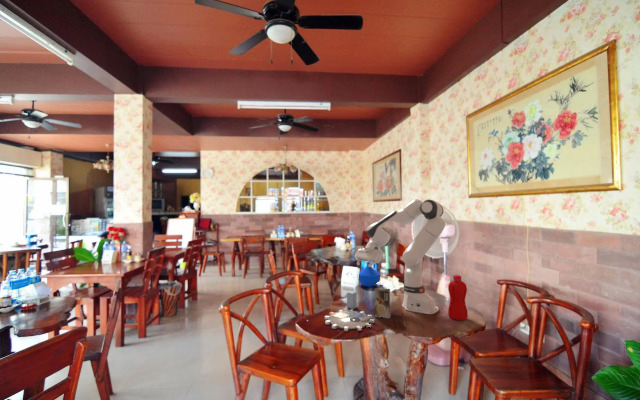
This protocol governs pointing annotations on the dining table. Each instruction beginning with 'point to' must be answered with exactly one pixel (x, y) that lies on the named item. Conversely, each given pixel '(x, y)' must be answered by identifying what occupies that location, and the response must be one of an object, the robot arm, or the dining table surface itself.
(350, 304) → the drive pin
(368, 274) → the vase
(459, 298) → the water bottle
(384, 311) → the coffee box
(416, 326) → the dining table surface
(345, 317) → the sprocket
